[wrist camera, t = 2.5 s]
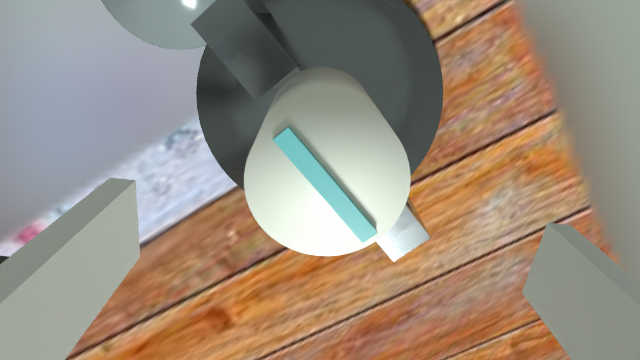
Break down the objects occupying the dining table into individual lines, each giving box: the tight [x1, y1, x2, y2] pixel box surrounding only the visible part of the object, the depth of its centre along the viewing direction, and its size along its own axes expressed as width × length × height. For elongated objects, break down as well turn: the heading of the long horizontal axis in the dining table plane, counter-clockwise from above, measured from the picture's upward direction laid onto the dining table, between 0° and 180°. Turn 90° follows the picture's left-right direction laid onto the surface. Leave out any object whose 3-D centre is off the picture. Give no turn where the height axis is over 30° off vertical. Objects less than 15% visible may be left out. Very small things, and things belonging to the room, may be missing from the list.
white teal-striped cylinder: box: [244, 66, 410, 256], centre depth 22 cm, size 12×7×12 cm, turn 38°
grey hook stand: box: [190, 0, 443, 262], centre depth 27 cm, size 19×19×10 cm
